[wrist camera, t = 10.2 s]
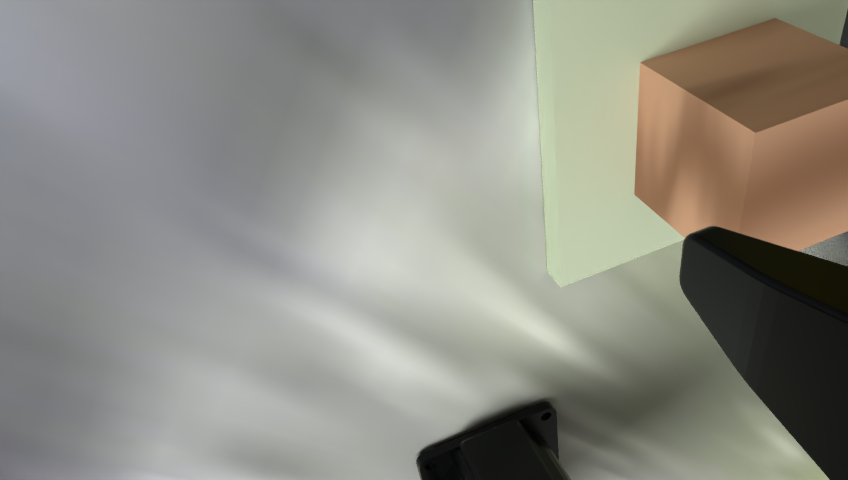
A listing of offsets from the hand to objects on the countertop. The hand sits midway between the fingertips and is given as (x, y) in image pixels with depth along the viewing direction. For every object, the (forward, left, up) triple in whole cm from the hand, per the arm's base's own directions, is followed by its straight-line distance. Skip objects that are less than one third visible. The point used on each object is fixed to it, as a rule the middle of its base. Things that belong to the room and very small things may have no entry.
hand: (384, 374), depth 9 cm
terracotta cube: (-6, -14, -11) cm, 19 cm away
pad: (-6, -14, -12) cm, 19 cm away
